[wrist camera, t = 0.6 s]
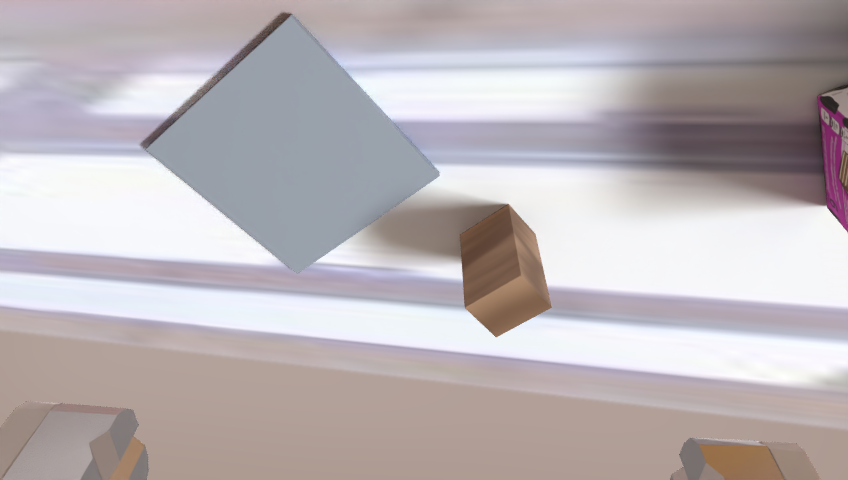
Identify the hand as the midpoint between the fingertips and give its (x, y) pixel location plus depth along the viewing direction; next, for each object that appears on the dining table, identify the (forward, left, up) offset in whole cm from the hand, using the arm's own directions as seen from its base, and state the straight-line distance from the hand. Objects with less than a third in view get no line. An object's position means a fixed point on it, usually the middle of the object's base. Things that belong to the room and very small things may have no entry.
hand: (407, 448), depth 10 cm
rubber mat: (+7, -18, -38) cm, 43 cm away
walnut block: (+23, -10, -38) cm, 45 cm away
